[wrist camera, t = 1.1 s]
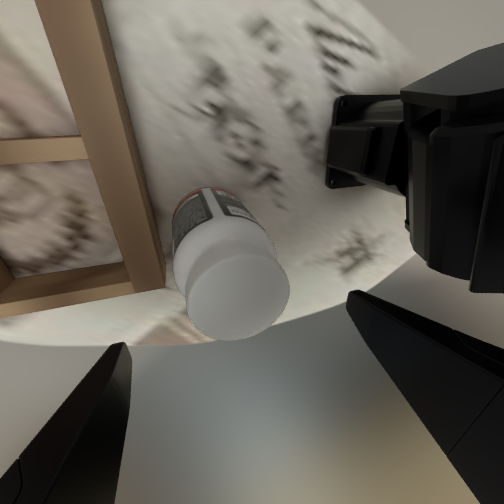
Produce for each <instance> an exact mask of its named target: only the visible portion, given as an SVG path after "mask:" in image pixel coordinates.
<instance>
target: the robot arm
mask: <svg viewBox="0 0 504 504" xmlns="http://www.w3.org/2000/svg"><path fill="white" fill-rule="evenodd" d="M342 101H344V106H343V107H342V106H341V102H342ZM327 165H328V166H327V175H326V186H327V187H328V188H330V189H336V188H345V187H354V186H362V185H370V186H373V187H376V188H379V189H382V190H385V191H388V192H391V193H394V194H397V195H400V196H403V197H406V220H405V228H406V229H407V230H408V231H409V233H410V242H411V244H412V247H413V250H414V251H415V252H416V253H417V254H419V256H421V257H422V258H423V259H424V260H425V261H426V265H427V266H428V267H429V268H431V269H434V270H436V271H438V272H440V273H442V274H445V275H449V276H452V277H455V278H459V279H463V280H470V284H469V290H470V291H471V292H473V293H503V294H504V43H501V44H498V45H494V46H491V47H488V48H484V49H481V50H478V51H475V52H474V53H471V54H469V55H467V56H465V57H463V58H462V59H459V60H457V61H455V62H454V63H451V64H449V65H448V66H446V67H444V68H442V69H440V70H438V71H436V72H434V73H432V74H430V75H428V76H426V77H424V78H422V79H420V80H418V81H416V82H414V83H412V84H410V85H408V86H406V87H404V88H402V89H401V90H400V95H344V96H340V97H338V98H337V100H336V102H335V107H334V115H333V124H332V129H331V132H330V140H329V149H328V158H327ZM332 180H334V182H333V184H331V181H332ZM346 309H347V312H348V314H349V315H350V317H351V318H352V321H353V322H354V324H355V326H356V327H357V329H358V331H359V333H360V334H361V336H362V338H363V339H364V341H365V343H366V344H367V346H368V347H369V348H370V350H371V351H372V353H373V354H374V355H375V357H376V358H377V359H378V361H379V362H380V364H381V365H382V367H383V368H384V369H385V371H386V372H387V373H388V375H389V376H390V378H391V379H392V380H393V382H394V383H395V385H396V386H397V387H398V389H399V390H400V391H401V393H402V395H403V396H404V397H405V399H406V400H407V401H408V403H409V404H410V406H411V407H412V409H413V410H414V411H415V413H416V414H417V416H418V417H419V418H420V420H421V421H422V423H423V424H424V425H425V427H426V428H427V429H428V431H429V432H430V434H431V435H432V437H433V438H434V439H435V441H436V442H437V444H438V445H439V446H440V448H441V449H442V451H443V452H444V453H445V455H447V458H448V459H449V461H450V462H451V463H452V465H453V466H454V468H455V469H456V470H457V472H458V473H459V475H460V476H461V477H462V478H463V480H464V482H465V483H466V484H467V486H468V487H469V488H470V490H471V491H472V493H473V494H474V495H475V497H476V498H477V500H478V501H479V503H480V504H504V349H502V348H500V347H497V346H494V345H492V344H489V343H486V342H483V341H481V340H479V339H476V338H474V337H471V336H469V335H466V334H464V333H462V332H459V331H457V330H453V329H451V328H450V327H447V326H445V325H442V324H440V323H438V322H435V321H433V320H430V319H428V318H426V317H423V316H421V315H418V314H416V313H414V312H411V311H409V310H407V309H404V308H402V307H399V306H397V305H395V304H392V303H390V302H387V301H385V300H383V299H380V298H378V297H375V296H373V295H371V294H368V293H366V292H364V291H361V290H353V291H350V292H349V293H348V298H347V302H346ZM131 375H132V358H131V355H130V352H129V350H128V348H127V345H126V343H125V342H119V343H115V344H112V345H111V346H109V348H108V349H107V350H106V351H105V353H104V354H103V355H102V357H100V359H99V360H98V361H97V362H96V363H95V365H94V366H93V367H92V368H91V370H90V371H89V372H88V373H87V374H86V376H85V377H84V378H83V379H82V380H81V382H80V383H79V384H78V385H77V386H76V388H75V389H74V390H73V391H72V393H71V394H70V395H69V396H68V397H67V399H66V400H65V401H64V402H63V403H62V405H61V406H60V407H59V408H58V410H57V411H56V412H55V413H54V414H53V416H52V417H51V418H50V419H49V420H48V422H47V423H46V424H45V425H44V426H43V428H42V429H41V430H40V431H39V432H38V434H37V435H36V436H35V438H33V440H32V441H31V442H30V444H29V445H28V446H27V447H26V448H25V449H24V451H23V452H22V453H21V454H20V456H19V459H16V460H15V461H14V463H13V464H12V465H11V466H10V468H9V469H8V470H7V471H6V472H5V474H4V475H3V476H2V477H1V478H0V504H114V502H115V496H116V490H117V484H118V478H119V471H120V466H121V460H122V453H123V448H124V441H125V435H126V429H127V422H128V417H129V410H130V397H131V377H132V376H131Z"/></svg>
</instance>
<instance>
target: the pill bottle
mask: <svg viewBox="0 0 504 504" xmlns="http://www.w3.org/2000/svg"><path fill="white" fill-rule="evenodd" d="M172 244H173V273H174V279H175V282H176V285H177V287H178V289H179V290H180V292H181V293H182V295H183V296H184V297H185V298H186V305H187V312H188V316H189V318H190V320H191V322H192V324H193V325H194V326H195V327H196V329H198V330H199V331H200V332H201V333H203V334H204V335H206V336H208V337H211V338H214V339H218V340H239V339H244V338H247V337H251V336H253V335H256V334H258V333H260V332H261V331H263V330H265V329H266V328H268V327H269V326H270V325H272V324H273V323H274V322H275V321H276V320H277V319H278V318H279V316H280V315H281V314H282V312H283V311H284V309H285V307H286V305H287V302H288V299H289V293H290V286H289V281H288V278H287V275H286V273H285V272H284V270H283V269H282V267H281V266H280V264H279V263H278V261H277V254H276V249H275V246H274V244H273V242H272V240H271V238H270V237H269V235H268V234H267V232H266V231H265V230H264V229H263V228H262V227H261V225H260V224H259V223H258V222H257V221H256V220H255V218H254V217H253V216H252V215H251V214H250V213H249V211H248V210H247V209H246V208H245V207H244V205H243V204H242V203H241V202H240V201H239V200H238V199H237V198H236V197H235V196H234V195H232V194H231V193H229V192H227V191H225V190H222V189H218V188H203V189H199V190H196V191H194V192H192V193H190V194H188V195H187V196H186V197H184V198H183V199H182V200H181V202H180V203H179V204H178V206H177V208H176V210H175V212H174V215H173V220H172Z"/></svg>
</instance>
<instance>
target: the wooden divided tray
mask: <svg viewBox="0 0 504 504" xmlns="http://www.w3.org/2000/svg"><path fill="white" fill-rule="evenodd" d="M35 3H36V6H37V9H38V12H39V15H40V18H41V21H42V23H43V26H44V29H45V32H46V35H47V38H48V41H49V44H50V47H51V50H52V53H53V56H54V58H55V61H56V64H57V67H58V70H59V73H60V76H61V79H62V82H63V85H64V88H65V91H66V94H67V96H68V99H69V102H70V105H71V108H72V111H73V114H74V117H75V120H76V123H77V126H78V129H79V132H80V134H81V135H73V136H50V137H28V138H5V139H0V165H2V164H17V163H33V162H48V161H63V160H79V159H89V161H90V164H91V167H92V170H93V172H94V175H95V178H96V181H97V184H98V187H99V190H100V193H101V196H102V199H103V202H104V205H105V207H106V210H107V213H108V216H109V219H110V222H111V225H112V228H113V231H114V234H115V237H116V240H117V243H118V245H119V248H120V251H121V254H122V257H123V260H124V262H119V263H113V264H106V265H100V266H94V267H87V268H81V269H75V270H68V271H62V272H56V273H49V274H43V275H36V276H30V277H24V278H17V279H14V277H13V276H12V274H11V273H10V271H9V270H8V268H7V266H6V265H5V263H4V262H3V260H2V258H1V257H0V318H6V317H11V316H16V315H22V314H27V313H32V312H38V311H43V310H49V309H54V308H59V307H65V306H70V305H75V304H81V303H86V302H91V301H97V300H102V299H107V298H113V297H118V296H123V295H129V294H134V293H139V292H145V291H150V290H156V289H161V288H165V279H166V263H165V259H164V255H163V251H162V247H161V243H160V239H159V235H158V231H157V227H156V222H155V218H154V214H153V210H152V206H151V202H150V198H149V194H148V190H147V186H146V181H145V177H144V173H143V169H142V165H141V161H140V157H139V153H138V149H137V145H136V140H135V136H134V132H133V128H132V124H131V120H130V116H129V112H128V108H127V104H126V100H125V95H124V91H123V87H122V83H121V79H120V75H119V71H118V67H117V63H116V59H115V54H114V50H113V46H112V42H111V38H110V34H109V30H108V26H107V22H106V18H105V13H104V9H103V5H102V1H101V0H35Z"/></svg>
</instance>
